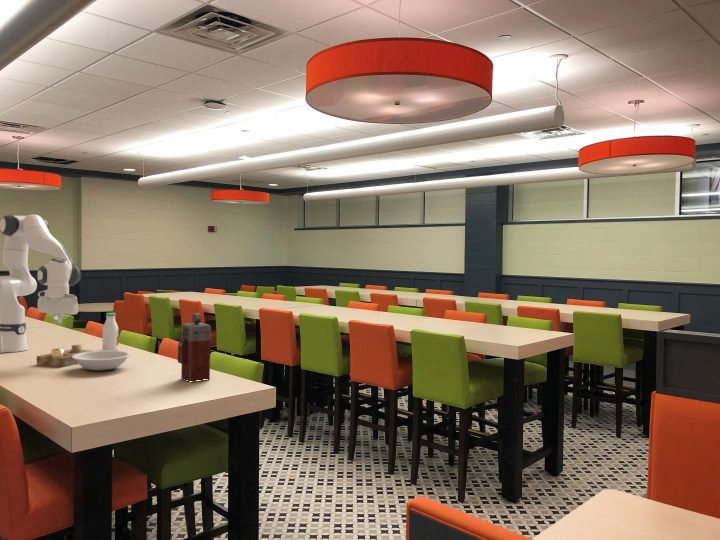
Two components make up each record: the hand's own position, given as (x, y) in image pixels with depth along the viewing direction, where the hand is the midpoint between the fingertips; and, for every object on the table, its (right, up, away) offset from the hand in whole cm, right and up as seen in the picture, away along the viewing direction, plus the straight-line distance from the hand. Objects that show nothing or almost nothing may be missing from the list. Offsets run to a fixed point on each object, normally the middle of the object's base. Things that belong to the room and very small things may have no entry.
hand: (57, 323), depth 261 cm
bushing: (0, -19, 0) cm, 19 cm away
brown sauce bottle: (+70, -22, -25) cm, 77 cm away
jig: (+2, -19, +6) cm, 20 cm away
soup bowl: (+25, -20, -9) cm, 33 cm away
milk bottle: (+7, -18, +40) cm, 44 cm away
